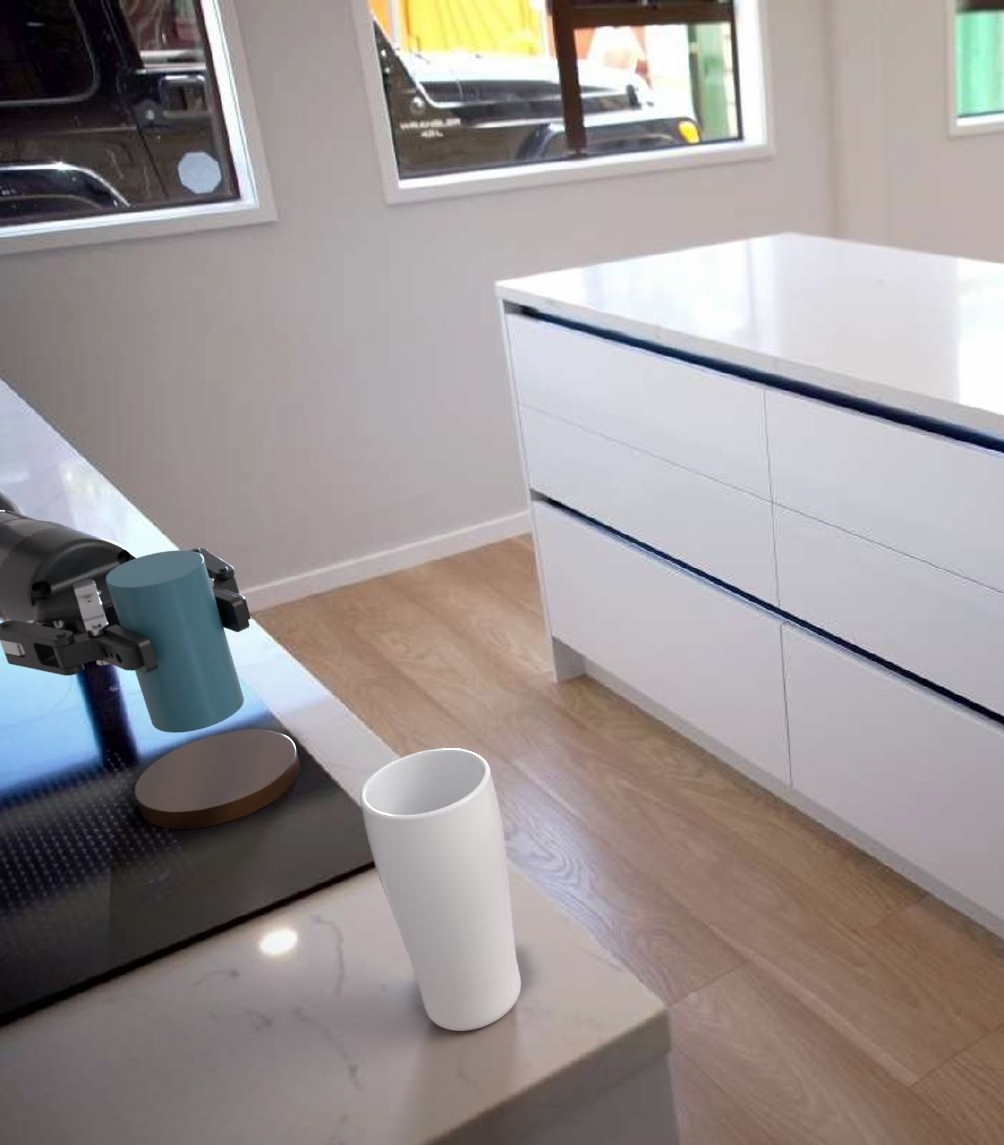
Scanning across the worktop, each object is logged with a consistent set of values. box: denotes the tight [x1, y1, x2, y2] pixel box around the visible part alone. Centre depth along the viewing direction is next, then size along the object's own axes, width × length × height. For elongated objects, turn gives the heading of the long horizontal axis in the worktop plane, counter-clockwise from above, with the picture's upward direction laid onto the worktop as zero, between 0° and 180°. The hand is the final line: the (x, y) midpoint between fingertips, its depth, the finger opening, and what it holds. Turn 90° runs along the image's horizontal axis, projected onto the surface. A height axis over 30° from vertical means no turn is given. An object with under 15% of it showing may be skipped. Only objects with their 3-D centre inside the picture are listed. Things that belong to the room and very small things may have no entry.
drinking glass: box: [359, 748, 522, 1032], centre depth 71 cm, size 7×7×15 cm
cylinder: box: [106, 549, 245, 734], centre depth 81 cm, size 5×5×10 cm
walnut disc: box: [134, 729, 301, 830], centre depth 97 cm, size 11×11×2 cm
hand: (196, 635), depth 79 cm, fingers closed on cylinder, 5 cm apart
